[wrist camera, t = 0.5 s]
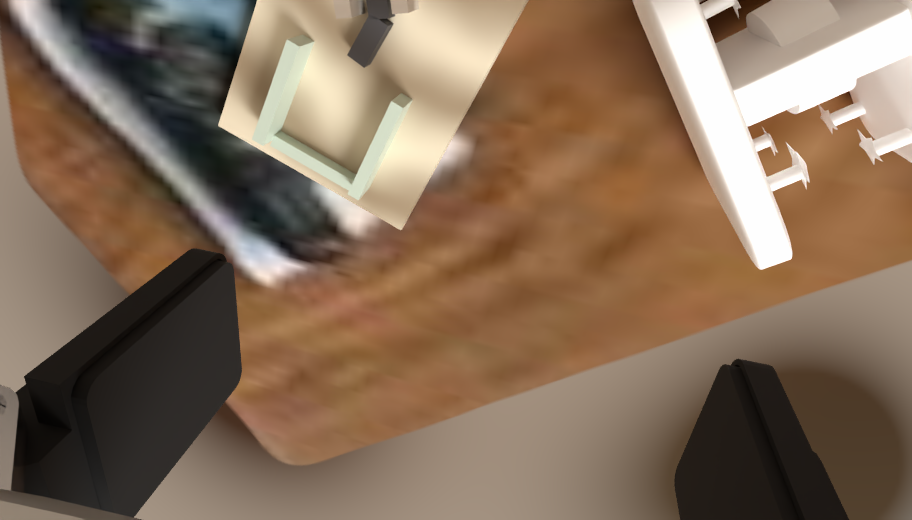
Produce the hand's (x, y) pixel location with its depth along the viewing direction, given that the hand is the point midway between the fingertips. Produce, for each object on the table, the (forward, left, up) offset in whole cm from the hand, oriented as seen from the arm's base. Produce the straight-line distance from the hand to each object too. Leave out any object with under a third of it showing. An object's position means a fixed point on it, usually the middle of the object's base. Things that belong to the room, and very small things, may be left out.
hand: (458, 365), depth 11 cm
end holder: (+8, -10, -26) cm, 29 cm away
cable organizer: (-8, +9, -28) cm, 30 cm away
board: (+3, -10, -27) cm, 29 cm away
